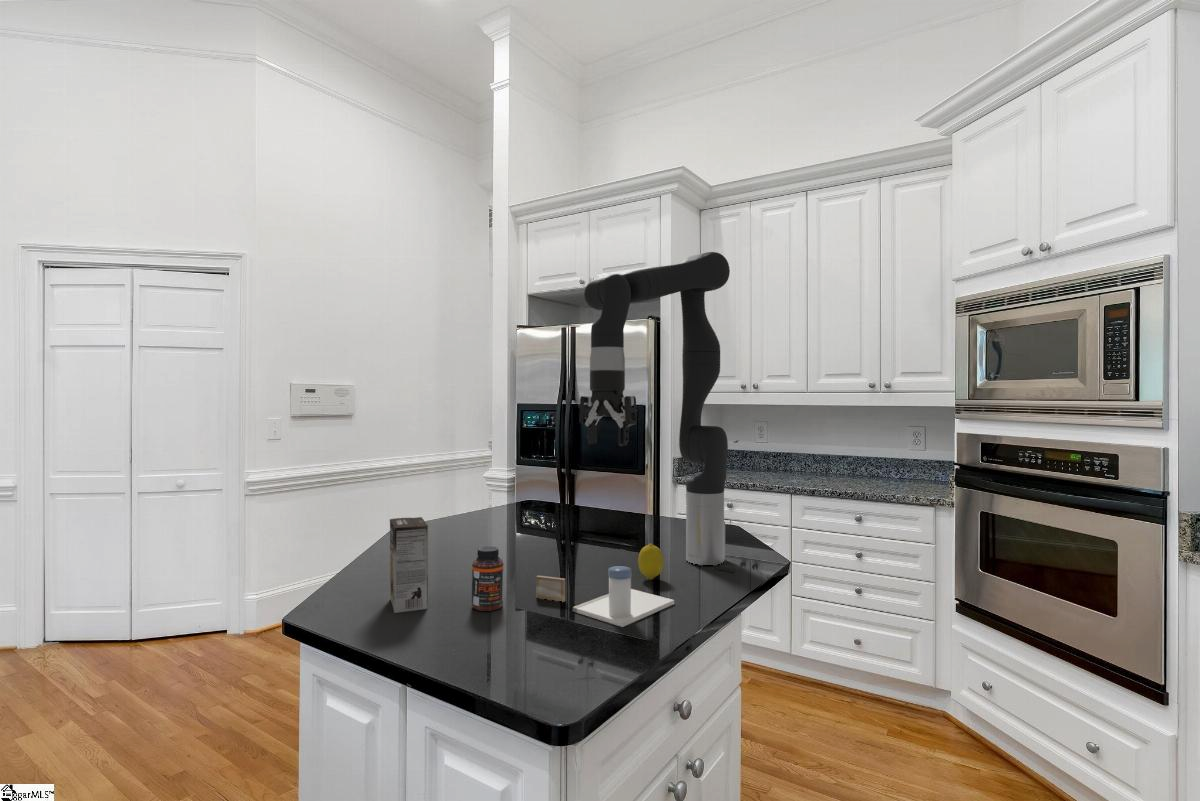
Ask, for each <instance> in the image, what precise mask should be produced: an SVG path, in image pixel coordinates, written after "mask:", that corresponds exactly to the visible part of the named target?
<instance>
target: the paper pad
mask: <svg viewBox="0 0 1200 801" xmlns="http://www.w3.org/2000/svg"><path fill="white" fill-rule="evenodd" d="M673 605H675V600H674V599H671V598H667V597H663V596H660V595H656V594H652V593H648V592H645V591H641V590H638V589H634V588H631V615H630V616H629V617H626V618H614V617H611V616H610V615H609V593H607V594H605V595H601V596H599V597H596V598H592V599H591V600H588V601H586V602H583V603H580V604H577V605H575V606H573V607H572V612H573V613H576V614H579V615H583V616H587V617H588V618H593V619H596V620H599V621H602V622H605V623H607V624H611V625H615V626H618V627H620V628H624V627H625V626H629V625H631V624H633V623H635V622H637V621H639V620H642V619H644V618H647V617H648V616H650V615H651V616H652V615H653V614H655V613H657V612H660V611H661V610H664V609H666V608H668V607H671V606H673Z"/></svg>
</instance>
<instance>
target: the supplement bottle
mask: <svg viewBox="0 0 1200 801" xmlns="http://www.w3.org/2000/svg"><path fill="white" fill-rule="evenodd" d="M499 551H500V550H499V547H497V546H490V545H489V546H488V545H487V546H480V547H478V548H477V554H476V555H477V557H476V558H475V559H474V560H473V561H472V566H471V567H472V568H471V607H472V608H473V609H474V610H476V611H479V612H491V611H498V609H499V610H500V609H501V608H502V607H503V605H504V561H503V559H502V558H500V557H499V554H500V553H499Z"/></svg>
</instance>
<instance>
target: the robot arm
mask: <svg viewBox="0 0 1200 801" xmlns="http://www.w3.org/2000/svg"><path fill="white" fill-rule="evenodd" d="M729 278H730V264H729V262H728V260H727V258H726V257H725V256H724V255H723V254H721V253H719V252H717V251H716V252H715V251H707V252H703V253H699V254H695V255H690V256H688V257H686V258H685V259H683V261H682V262H681V263H677V264H668V265H661V266H656V267H654V266H653V267H648V268H642V269H636V270H632V271H628V272H625V273H623V274H619V273H612V274H608V275H604V276H600V277H596V278H593V279H592V280H590V281H588V283H587V285H586V286H585V288H584V293H583V296H584V300H585V302H586V304H587V305H588V306H589V307H590V308H592V309H594V310H595V311H601V314H600V316H599V318H598V319H597V320H595V321H594V322H593V323H592V325H591V329H590V330H591V331H590V335H591V336H590V356H589V391H591V396H590V395H589V396H588V395H584V396H583V395H582V396H580V399H579V414H578V416H579V417H578V420H579V421H578V422H579V424H584V425H585V426H586V441H587V443H588V444H589V445H592V444H593V445H594V444H597V443H598V426H597V424H598V422H599V421H600V420H601V419H602V418H603V417H611V418H612V420H614V421H615V422H616V423H617V425H618V428H617V432H618V433H617V434H618V435H617V443H618V446H619V447H624V446H627V445H628V443H629V441H630V439H629V438H630V435H629V431H630V427H632V426H633V425H637V423H638V419H637V418H638V414H637V398H636V396H635V395H625V396H624V391H625V390H626V389H625V388H626V378H625V377H626V373H625V372H626V368H625V367H626V365H625V364H626V358H625V357H626V356H625V350H624V349H625V348H624V346H625V344H624V343H625V342H624V341H625V339H624V336H625V335H624V328H625V324H626V321H627V317H628V314H629V308H630V306H631V303H632V304H633V303H635V304H636V303H642V302H647V301H650V300H654V299H658V298H663V297H667V296H669V295H673V294H676V293H680V302H681V316H682V354H681V355H682V356H681V357H682V361H681V362H682V365H681V366H682V399H681V400H682V404H681V415H680V423H679V424H680V426H679V434H678V435H679V438H678V440H679V441H678V443H679V444H678V446H679V452H680V456H681V457H682V459H683V460H684V461H685V462H687V463H693V464H694V463H696V464H704V466H703V470H702V472H701V473H700V474H699V475H696V476H692V477H689V478H688V479H686V484H685V485H686V486H685V561H686V560H687V561H688V562H687V561H686V562H687V563H689V562H690V563H689V564H691V563H693V564H692V565H695V564H698V565H697V566H703V565H713V566H718V564H720V565H722V564H724V563H725V560H726V521H725V484H726V481H727V469H728V468H727V467H728V465H727V464H728V449H729V447H728V446H729V444H728V443H729V442H728V436H727V433H726V431H725V429H724V428H723V427H721V426H718V425H717V426H715V425H702V415H703V414H702V413H703V408H704V405H705V402H706V400H707V398H708V396H709V394H710V393H711V391H712V389H713V387H714V386H715V384H716V382H717V380H718V379H719V376H720V372H721V344H720V341H719V339H718V336H717V334H716V332H715V330H714V329H713V326H712V325H711V323H710V321H709V318H708V317H707V313H706V302H705V301H706V300H705V299H706V298H705V296H706V293H707V292H711V291H716V290H718V289H720V288H723V287H724V286H725V285H726V283H728V280H729ZM623 407H624V408H623ZM724 559H725V560H724ZM723 562H724V563H723ZM721 563H722V564H721Z"/></svg>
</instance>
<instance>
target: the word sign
mask: <svg viewBox="0 0 1200 801" xmlns="http://www.w3.org/2000/svg"><path fill="white" fill-rule="evenodd" d="M535 580H536V581H535V582H536V583H535V584H536V585H535V587H536V588H535V598H539V599H538V600H544V599H547V600H546V601H552V600H554V601H553V602H559V601H562V602H561V603H564V602H565V601H566V578H565V577H564V578H561V577H554V576H546V575H535Z"/></svg>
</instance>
